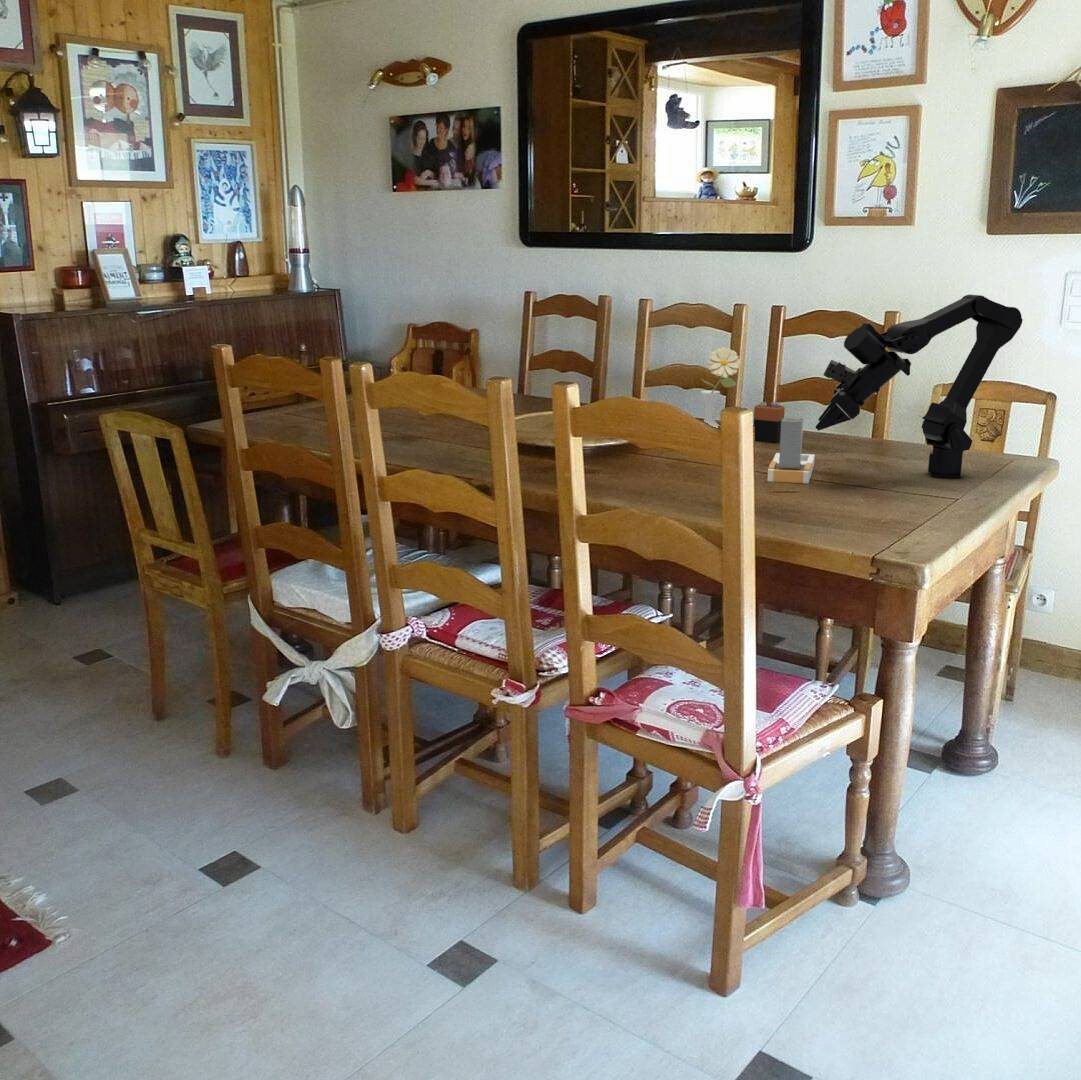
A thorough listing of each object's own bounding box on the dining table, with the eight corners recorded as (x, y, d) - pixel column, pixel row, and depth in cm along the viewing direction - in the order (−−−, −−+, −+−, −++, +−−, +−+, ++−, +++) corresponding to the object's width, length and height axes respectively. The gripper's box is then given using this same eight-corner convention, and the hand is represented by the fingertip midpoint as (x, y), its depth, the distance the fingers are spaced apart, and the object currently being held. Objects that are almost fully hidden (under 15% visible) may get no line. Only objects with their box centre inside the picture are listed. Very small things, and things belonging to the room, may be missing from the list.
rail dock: (814, 465, 250) (814, 452, 249) (808, 483, 233) (809, 470, 232) (775, 463, 252) (776, 451, 252) (767, 481, 235) (767, 468, 234)
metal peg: (800, 476, 239) (803, 418, 236) (798, 480, 235) (801, 422, 232) (780, 475, 241) (782, 417, 237) (778, 479, 237) (781, 421, 233)
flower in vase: (681, 448, 270) (683, 348, 263) (692, 440, 280) (694, 343, 273) (732, 452, 265) (736, 350, 258) (742, 443, 275) (745, 345, 268)
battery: (776, 443, 274) (778, 404, 272) (752, 440, 278) (753, 402, 275) (783, 440, 278) (785, 402, 275) (759, 437, 282) (761, 400, 279)
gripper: (850, 342, 235) (796, 391, 242) (846, 353, 218) (788, 405, 225) (885, 379, 235) (830, 427, 242) (884, 392, 218) (825, 443, 225)
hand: (818, 424), depth 233 cm, fingers open, 9 cm apart
